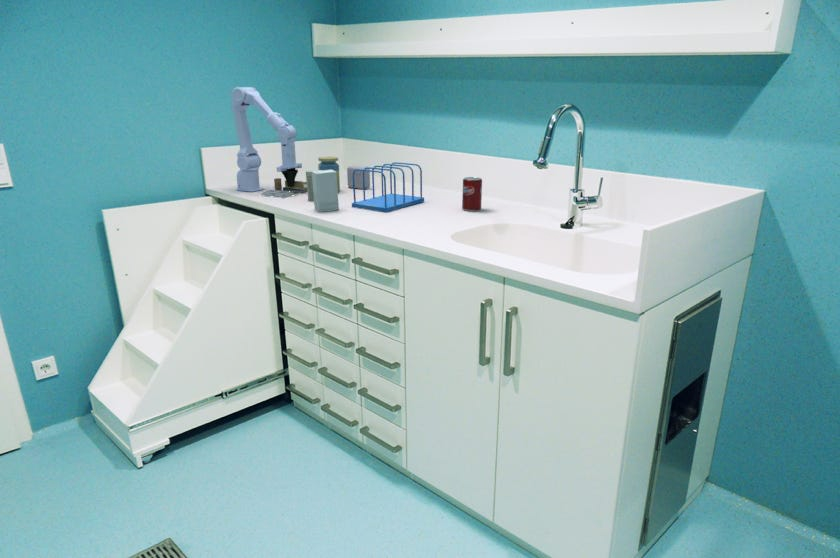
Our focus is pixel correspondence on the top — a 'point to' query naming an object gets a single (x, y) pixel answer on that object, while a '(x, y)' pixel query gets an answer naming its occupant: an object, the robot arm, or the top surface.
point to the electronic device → (358, 177)
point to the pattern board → (296, 189)
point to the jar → (330, 166)
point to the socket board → (277, 193)
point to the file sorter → (389, 200)
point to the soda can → (472, 194)
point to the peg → (278, 184)
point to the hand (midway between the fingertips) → (290, 186)
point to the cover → (297, 185)
